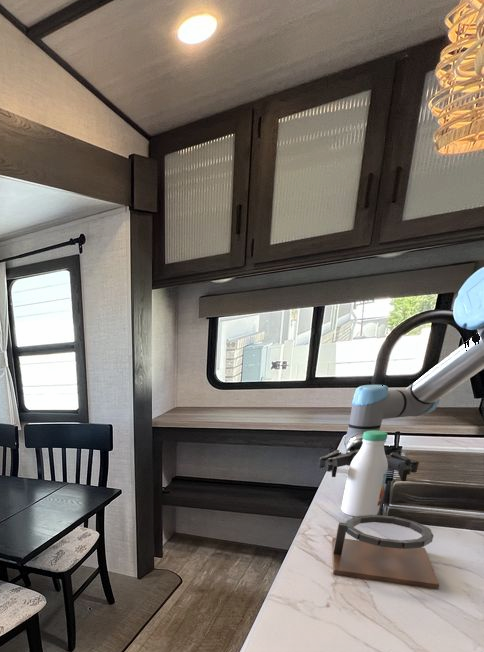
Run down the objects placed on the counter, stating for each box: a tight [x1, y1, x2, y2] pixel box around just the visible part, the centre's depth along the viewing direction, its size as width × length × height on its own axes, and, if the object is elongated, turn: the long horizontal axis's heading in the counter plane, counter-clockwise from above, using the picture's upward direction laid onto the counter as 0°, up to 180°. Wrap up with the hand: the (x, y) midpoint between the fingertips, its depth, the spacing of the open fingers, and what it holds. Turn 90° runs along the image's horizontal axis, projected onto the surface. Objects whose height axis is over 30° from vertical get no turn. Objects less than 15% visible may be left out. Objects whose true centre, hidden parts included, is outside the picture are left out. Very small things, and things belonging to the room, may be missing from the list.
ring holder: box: [331, 514, 441, 590], centre depth 91 cm, size 16×16×8 cm
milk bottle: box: [340, 430, 389, 517], centre depth 112 cm, size 8×8×20 cm
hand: (368, 473), depth 109 cm, fingers open, 13 cm apart
